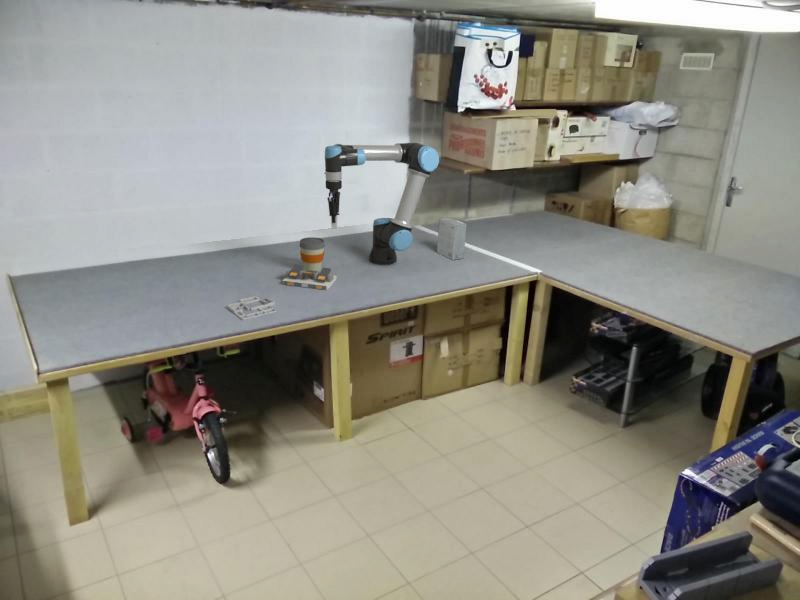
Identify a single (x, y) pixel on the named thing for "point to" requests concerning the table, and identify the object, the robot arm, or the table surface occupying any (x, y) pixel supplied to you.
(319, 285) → the switch unit
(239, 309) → the floor plan model
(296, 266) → the rocker
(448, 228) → the hard drive box
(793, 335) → the table surface
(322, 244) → the reusable coffee cup
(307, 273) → the rocker middle
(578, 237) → the table surface
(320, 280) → the rocker
